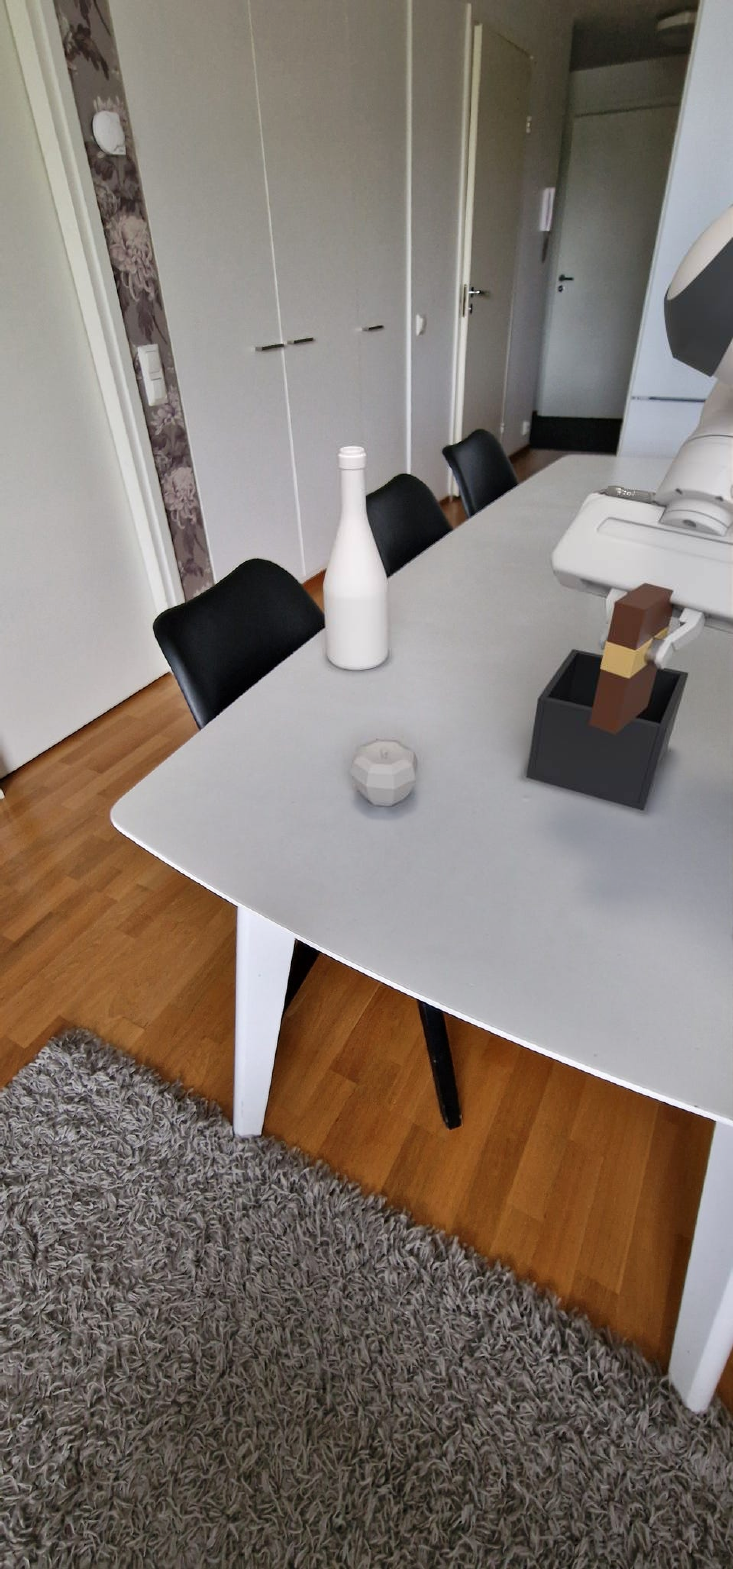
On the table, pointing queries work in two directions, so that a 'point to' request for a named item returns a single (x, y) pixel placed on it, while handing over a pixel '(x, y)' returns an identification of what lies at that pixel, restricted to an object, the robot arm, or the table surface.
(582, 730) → the waste bin
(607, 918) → the table surface
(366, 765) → the apple
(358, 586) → the wine bottle
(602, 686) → the chocolate bar
